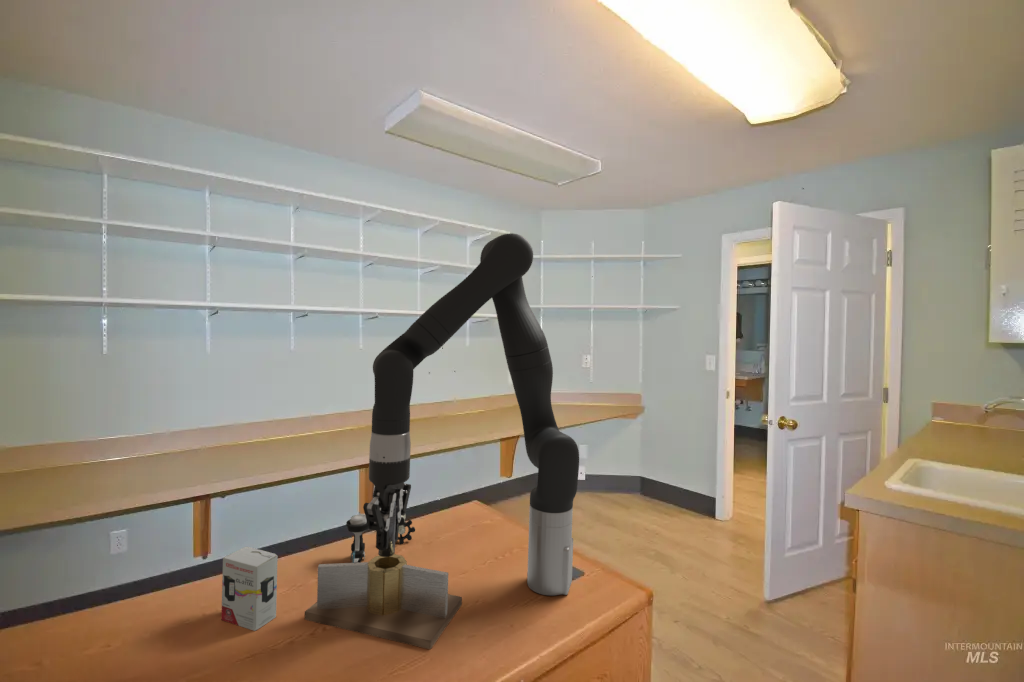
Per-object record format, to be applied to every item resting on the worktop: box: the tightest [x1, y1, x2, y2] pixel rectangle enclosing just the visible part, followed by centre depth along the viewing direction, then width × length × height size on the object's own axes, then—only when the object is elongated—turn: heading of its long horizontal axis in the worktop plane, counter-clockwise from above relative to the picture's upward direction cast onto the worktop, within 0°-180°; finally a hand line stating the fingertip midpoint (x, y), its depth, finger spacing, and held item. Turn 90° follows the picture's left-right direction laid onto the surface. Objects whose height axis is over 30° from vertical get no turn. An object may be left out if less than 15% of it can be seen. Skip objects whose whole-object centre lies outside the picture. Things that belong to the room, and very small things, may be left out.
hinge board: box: [304, 593, 463, 650], centre depth 91 cm, size 26×14×2 cm, turn 74°
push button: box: [345, 514, 370, 563], centre depth 110 cm, size 7×5×10 cm
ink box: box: [220, 546, 279, 632], centre depth 88 cm, size 9×5×12 cm, turn 70°
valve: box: [397, 514, 416, 545], centre depth 125 cm, size 7×7×12 cm
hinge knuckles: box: [316, 553, 449, 618], centre depth 90 cm, size 24×9×8 cm, turn 74°
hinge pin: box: [377, 501, 396, 557], centre depth 91 cm, size 3×3×10 cm
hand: (387, 544), depth 91 cm, fingers closed on hinge pin, 3 cm apart
